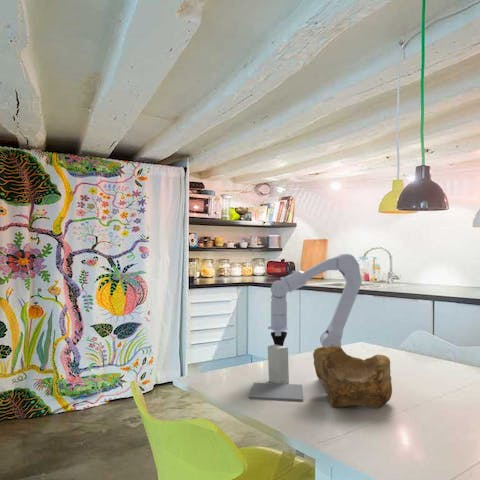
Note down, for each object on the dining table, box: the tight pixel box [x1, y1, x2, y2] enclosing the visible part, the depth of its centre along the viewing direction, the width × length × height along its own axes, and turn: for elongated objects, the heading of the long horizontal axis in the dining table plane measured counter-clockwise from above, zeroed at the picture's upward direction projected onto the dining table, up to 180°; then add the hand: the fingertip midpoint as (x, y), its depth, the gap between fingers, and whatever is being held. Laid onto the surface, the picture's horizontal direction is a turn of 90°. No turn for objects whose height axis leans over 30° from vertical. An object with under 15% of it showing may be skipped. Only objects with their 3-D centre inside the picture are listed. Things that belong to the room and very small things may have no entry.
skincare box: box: [267, 344, 290, 384], centre depth 138 cm, size 6×4×12 cm
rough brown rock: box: [312, 346, 393, 409], centre depth 119 cm, size 23×17×15 cm
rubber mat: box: [248, 382, 304, 402], centre depth 128 cm, size 16×14×1 cm
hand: (278, 352), depth 145 cm, fingers closed
